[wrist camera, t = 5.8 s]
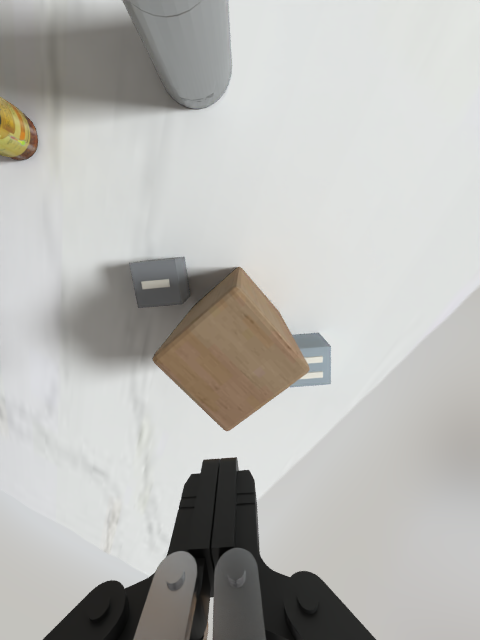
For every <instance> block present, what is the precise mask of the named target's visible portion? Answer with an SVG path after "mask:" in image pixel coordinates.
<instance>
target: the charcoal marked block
mask: <svg viewBox="0 0 480 640" xmlns="http://www.w3.org/2000/svg"><path fill="white" fill-rule="evenodd" d="M129 265H130V270H131V275H132V280H133V284H134V289H135V294H136V299H137V304H138V308H143V307H155V306H166V305H177V304H182V303H183V302H185V301H186V300H187V299H188V298H189V297H190V291H189V284H188V277H187V270H186V264H185V257H179V258H168V259H158V260H148V261H140V262H133V263H129Z"/></svg>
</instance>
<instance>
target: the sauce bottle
mask: <svg viewBox="0 0 480 640" xmlns="http://www.w3.org/2000/svg"><path fill="white" fill-rule="evenodd" d="M37 145H38V138H37V132H36V128H35V127H34V125H33V123H32V121H30V119H29V118H28V117H27V116H26V115H25V114H23V113H22V112H21V111H20V110H19V109H18V108H17V107H15V106H14V105H12V104H11V103H9V102H8V101H6V100H5V99H3V98H1V97H0V155H2V156H6V157H10V158H12V159H17V160H24V159H27V158H29V157H31V156H32V155H33V154H34V153H35V151H36V149H37Z"/></svg>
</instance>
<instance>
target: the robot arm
mask: <svg viewBox="0 0 480 640" xmlns="http://www.w3.org/2000/svg"><path fill="white" fill-rule="evenodd" d="M122 1H123V3H124V5H125V7H126V9H127V11H128V13H129V15H130V17H131V19H132V21H133V23H134V25H135V27H136V29H137V31H138V33H139V36H140V38H141V40H142V42H143V44H144V46H145V48H146V50H147V52H148V54H149V56H150V58H151V60H152V62H153V64H154V66H155V68H156V70H157V72H158V74H159V76H160V79H161V81H162V83H163V84H164V86H165V88H166V90H167V92H168V93H169V94H170V95H171V97H172V98H173V99H174V100H176V101H177V102H178V103H180V104H181V105H183V106H185V107H189V108H193V109H200V108H204V107H208V106H210V105H212V104H214V103H215V102H216V101H217V100H218V99H219V98H220V97H221V96H222V95H223V93H224V92H225V90H226V88H227V86H228V84H229V81H230V77H231V69H232V59H231V40H230V22H229V5H228V0H122ZM210 597H214V606H213V607H214V608H213V609H214V610H213V640H376V639H375V638H374V637H373V636H372V635H371V633H370V632H369V631H368V630H367V629H366V628H365V627H364V626H363V625H362V624H361V622H360V621H359V620H358V619H357V618H356V617H355V616H354V615H353V614H352V612H350V610H349V609H348V608H347V607H346V606H345V605H344V604H343V603H342V601H341V600H340V599H339V598H338V597H337V596H336V595H335V594H334V593H333V591H332V590H331V589H330V588H329V587H328V586H327V585H326V584H325V583H324V582H323V581H322V580H321V579H320V578H319V577H318V576H317V575H315V574H313V573H311V572H307V571H301V572H297V573H295V574H293V575H292V576H291V577H288V576H285V575H282V574H280V573H277V572H275V571H273V570H271V569H270V568H269V567H268V566H266V564H265V563H264V562H263V560H262V559H261V557H260V552H259V534H258V517H257V502H256V492H255V482H254V479H253V477H252V475H251V473H250V471H249V470H242V471H239V469H238V461H237V457H236V458H222V459H221V460H220V459H209V460H203V463H202V469H201V473H200V474H191V476H190V477H189V479H188V480H187V482H186V483H185V485H184V489H183V493H182V497H181V501H180V505H179V510H178V513H177V517H176V522H175V526H174V530H173V534H172V538H171V542H170V546H169V550H168V554H167V556H166V558H165V559H164V560H163V561H162V562H161V563H160V565H159V566H158V568H157V570H156V572H155V573H154V574H153V575H151V576H150V577H149V578H147V579H145V580H143V581H141V582H139V583H137V584H134V585H132V586H130V587H128V588H125V589H124V587H123V585H122V584H121V583H120V582H118V581H107V582H104V583H102V584H100V585H98V586H97V587H96V588H95V589H93V590H92V591H91V592H90V593H89V594H88V595H87V596H86V597H85V598H84V599H83V600H82V601H81V602H80V603H79V604H78V605H77V606H76V607H75V608H74V609H73V610H72V611H71V612H70V613H69V614H68V615H67V616H66V617H65V618H64V619H63V620H62V621H61V622H60V623H59V624H58V625H57V626H56V627H55V628H54V629H53V630H52V631H51V632H50V633H49V634H48V635H47V636H46V637H45V638H44V639H43V640H207V634H208V613H209V601H210Z"/></svg>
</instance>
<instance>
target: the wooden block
mask: <svg viewBox="0 0 480 640" xmlns="http://www.w3.org/2000/svg"><path fill="white" fill-rule="evenodd" d="M153 361H154V363H155V364H156V365H157V366H158V367H159V368H160V369H161V370H162V371H163V372H164V373H165V374H166V375H167V376H169V377H170V378H171V379H172V380H173V381H174V382H175V383H176V384H177V385H178V386H179V387H180V388H181V389H182V390H183V391H184V392H185V393H186V394H187V395H188V396H189V397H190V398H191V399H192V400H194V401H195V402H196V403H197V404H198V405H199V406H200V407H201V408H202V409H203V410H204V411H205V412H206V413H207V414H208V415H209V416H210V417H211V418H212V419H213V420H214V421H215V422H216V423H217V424H219V425H220V426H221V427H222V428H223V429H224V430H225V431H229V430H231V429H232V428H234V427H235V426H236V425H238V424H239V423H240V422H242V421H243V420H244V419H246V418H247V417H249V416H250V415H251V414H253V413H254V412H255V411H257V410H258V409H259V408H261V407H262V406H263V405H265V404H266V403H268V402H269V401H270V400H272V399H273V398H274V397H276V396H277V395H278V394H280V393H281V392H282V391H284V390H285V389H287V388H288V387H289V386H291V385H292V384H293V383H295V382H296V381H297V380H299V379H300V378H301V377H303V376H304V375H306V374H307V373H308V372H309V370H310V368H309V365H308V363H307V361H306V360H305V358H304V356H303V354H302V352H301V351H300V349H299V347H298V345H297V343H296V342H295V340H294V338H293V336H292V334H291V333H290V331H289V329H288V327H287V325H286V324H285V322H284V320H283V318H282V316H281V314H280V313H279V311H278V310H277V309H276V308H275V307H274V305H273V304H272V303H271V302H270V301H269V300H268V298H267V297H266V296H265V295H264V294H263V293H262V291H261V290H260V289H259V288H258V287H257V285H256V284H255V283H254V282H253V281H252V280H251V278H250V277H249V276H248V275H247V274H246V273H245V271H244V270H243V269H242V268H241V267H238V268H236V269H235V270H234V271H233V272H232V273H230V274H229V275H228V276H227V277H226V278H225V279H224V280H223V281H221V282H220V283H219V284H218V285H217V286H216V287H215V288H214V289H212V290H211V291H210V292H209V293H208V294H207V295H206V296H205V297H203V298H202V299H201V300H200V301H199V302H198V303H197V304H195V305H194V306H193V308H192V309H191V310H190V311H189V313H188V314H187V315H186V316H185V317H184V319H183V320H182V321H181V322H180V324H179V325H178V326H177V327H176V329H175V330H174V331H173V332H172V333H171V335H170V336H169V337H168V338H167V340H166V341H165V342H164V343H163V345H162V346H161V347H160V348H159V349H158V351H157V352H156V353H155V354H154V356H153Z"/></svg>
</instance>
